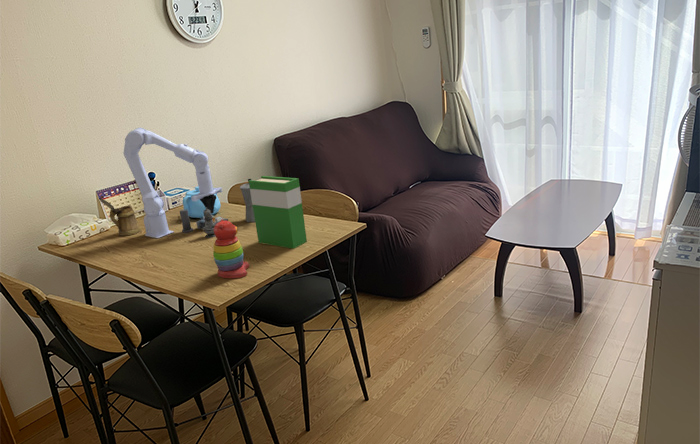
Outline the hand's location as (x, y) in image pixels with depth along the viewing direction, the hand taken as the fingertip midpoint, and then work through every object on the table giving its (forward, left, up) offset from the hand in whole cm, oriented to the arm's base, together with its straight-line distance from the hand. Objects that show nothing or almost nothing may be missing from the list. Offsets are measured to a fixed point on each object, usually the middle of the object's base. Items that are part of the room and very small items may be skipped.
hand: (210, 213), depth 218 cm
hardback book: (+42, -3, -6) cm, 43 cm away
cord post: (-7, -8, -6) cm, 12 cm away
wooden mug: (-33, -22, -6) cm, 39 cm away
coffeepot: (+11, +14, -6) cm, 20 cm away
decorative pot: (-20, +10, -6) cm, 23 cm away
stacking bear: (+46, -31, -6) cm, 56 cm away
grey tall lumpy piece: (+8, -8, -6) cm, 13 cm away
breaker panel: (0, 0, -6) cm, 6 cm away
